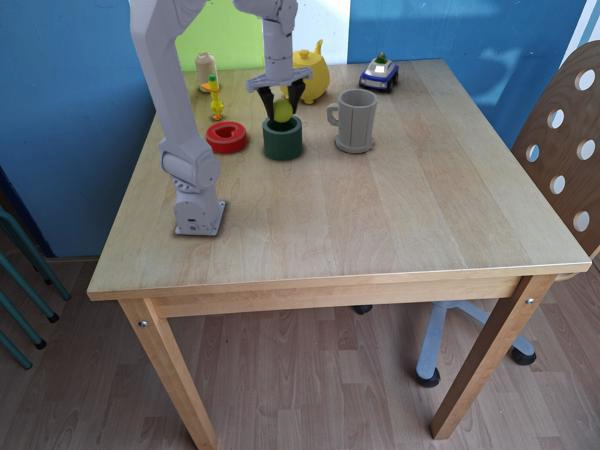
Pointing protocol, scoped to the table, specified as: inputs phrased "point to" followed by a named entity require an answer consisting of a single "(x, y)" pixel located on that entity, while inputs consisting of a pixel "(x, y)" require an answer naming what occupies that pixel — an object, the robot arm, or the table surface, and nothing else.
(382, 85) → the toy car
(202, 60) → the candle
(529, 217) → the table surface
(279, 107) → the ball
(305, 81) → the teapot
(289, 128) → the jar
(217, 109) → the toy figure
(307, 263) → the table surface
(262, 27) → the robot arm
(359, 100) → the cup
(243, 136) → the decorative ornament
